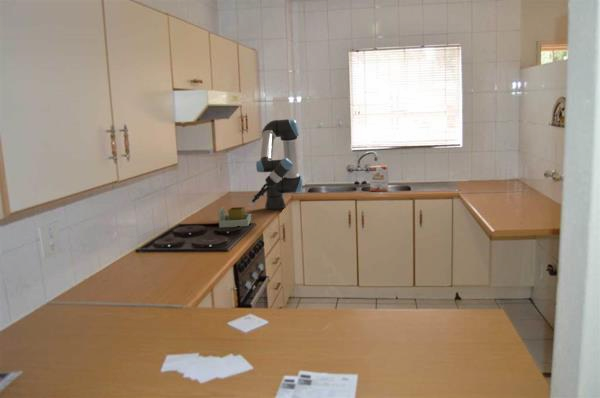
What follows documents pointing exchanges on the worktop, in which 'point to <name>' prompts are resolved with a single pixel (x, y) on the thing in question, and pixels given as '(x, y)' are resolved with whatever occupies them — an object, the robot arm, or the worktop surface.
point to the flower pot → (236, 213)
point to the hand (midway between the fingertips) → (251, 203)
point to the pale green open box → (226, 222)
